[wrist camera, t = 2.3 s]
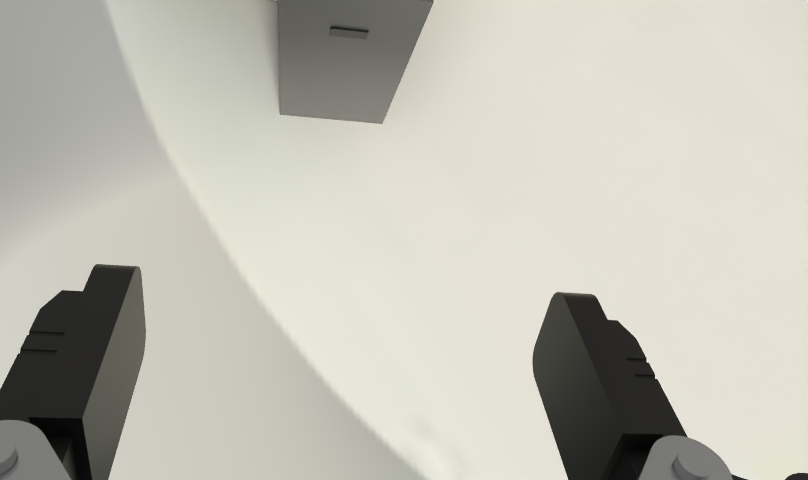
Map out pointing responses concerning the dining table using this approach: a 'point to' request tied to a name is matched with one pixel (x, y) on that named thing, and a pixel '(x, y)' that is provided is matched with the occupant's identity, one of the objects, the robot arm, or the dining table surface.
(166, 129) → the dining table surface
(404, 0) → the block
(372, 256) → the dining table surface
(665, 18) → the dining table surface
